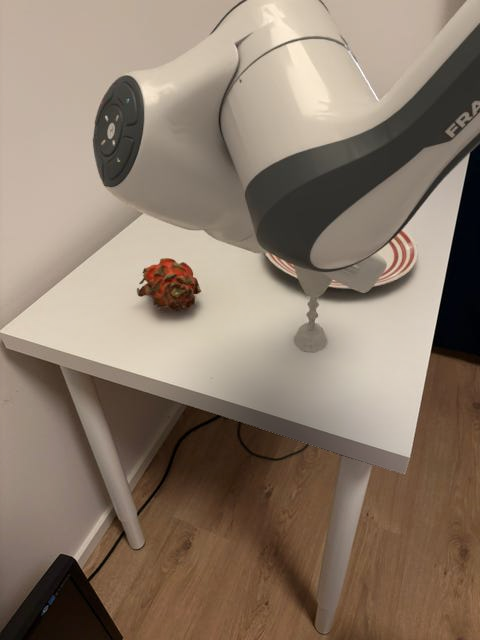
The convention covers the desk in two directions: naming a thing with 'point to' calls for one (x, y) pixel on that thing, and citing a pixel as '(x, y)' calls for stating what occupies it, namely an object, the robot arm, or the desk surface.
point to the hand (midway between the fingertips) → (331, 237)
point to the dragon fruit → (170, 285)
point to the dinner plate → (395, 253)
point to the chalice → (311, 310)
